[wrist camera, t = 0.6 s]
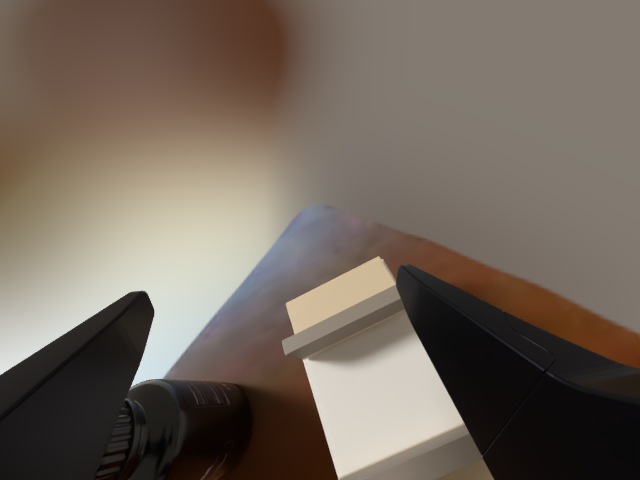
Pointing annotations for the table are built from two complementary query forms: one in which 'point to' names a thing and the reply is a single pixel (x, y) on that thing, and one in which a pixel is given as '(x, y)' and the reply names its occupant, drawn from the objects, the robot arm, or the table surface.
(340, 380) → the carton
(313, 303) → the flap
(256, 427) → the table surface
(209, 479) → the supplement bottle
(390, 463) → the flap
